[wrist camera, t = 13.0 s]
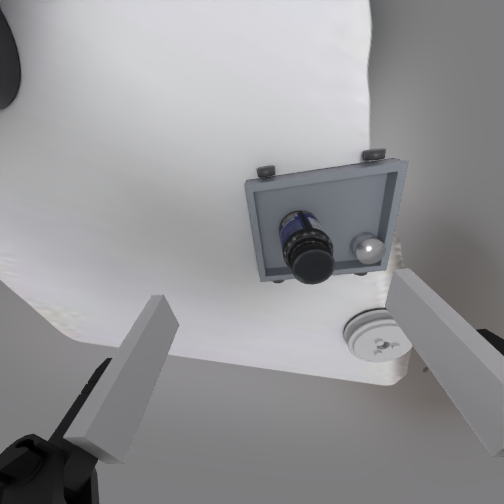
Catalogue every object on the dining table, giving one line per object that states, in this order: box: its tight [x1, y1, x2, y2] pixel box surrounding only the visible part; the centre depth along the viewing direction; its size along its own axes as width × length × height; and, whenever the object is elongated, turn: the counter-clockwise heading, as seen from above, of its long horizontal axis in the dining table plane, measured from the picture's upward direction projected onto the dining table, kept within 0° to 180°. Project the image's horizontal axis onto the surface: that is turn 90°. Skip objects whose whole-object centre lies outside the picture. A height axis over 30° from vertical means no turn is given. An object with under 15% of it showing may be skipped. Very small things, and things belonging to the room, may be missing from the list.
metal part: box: [350, 232, 386, 264], centre depth 31 cm, size 4×4×3 cm
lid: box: [344, 310, 413, 362], centre depth 42 cm, size 13×13×5 cm
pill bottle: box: [279, 211, 335, 284], centre depth 27 cm, size 6×6×11 cm
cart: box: [245, 149, 409, 283], centre depth 31 cm, size 20×19×4 cm
